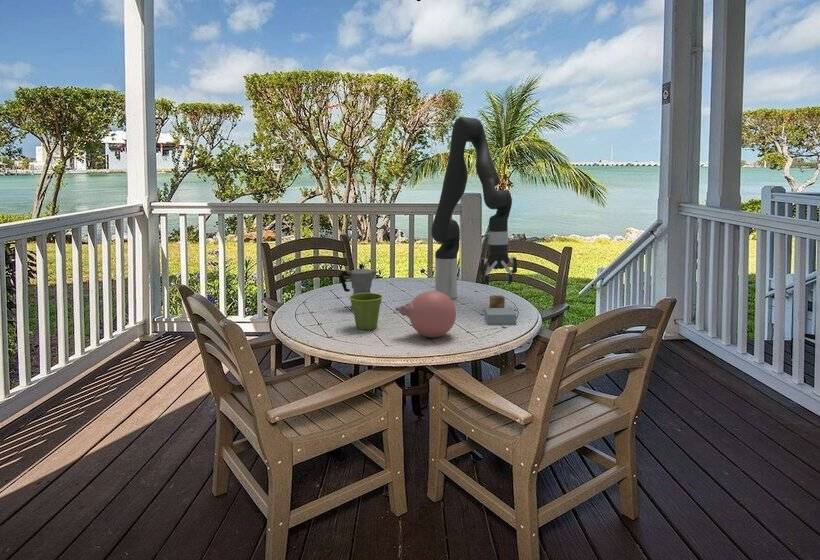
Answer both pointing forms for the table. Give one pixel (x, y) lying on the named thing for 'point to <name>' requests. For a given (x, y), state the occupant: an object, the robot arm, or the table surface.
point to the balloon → (430, 313)
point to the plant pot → (366, 309)
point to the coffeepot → (358, 280)
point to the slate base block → (500, 316)
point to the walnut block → (497, 301)
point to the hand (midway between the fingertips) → (498, 284)
